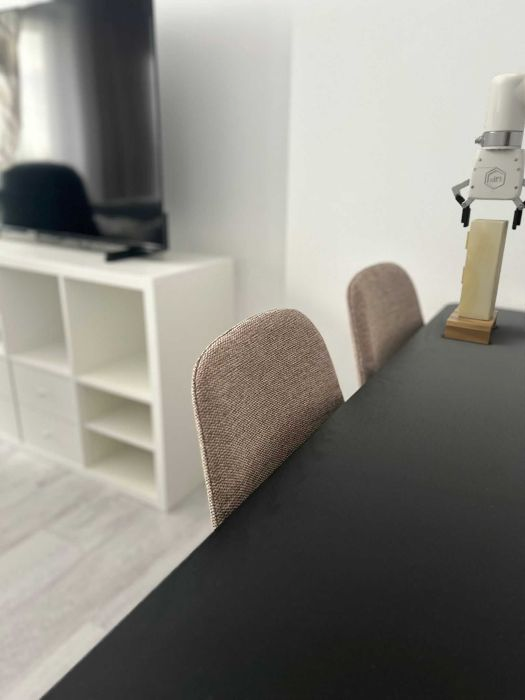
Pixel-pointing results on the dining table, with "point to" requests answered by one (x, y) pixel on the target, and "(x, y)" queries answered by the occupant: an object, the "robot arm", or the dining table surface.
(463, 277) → the toy refrigerator
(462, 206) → the robot arm
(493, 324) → the oak shelf
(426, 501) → the dining table surface
